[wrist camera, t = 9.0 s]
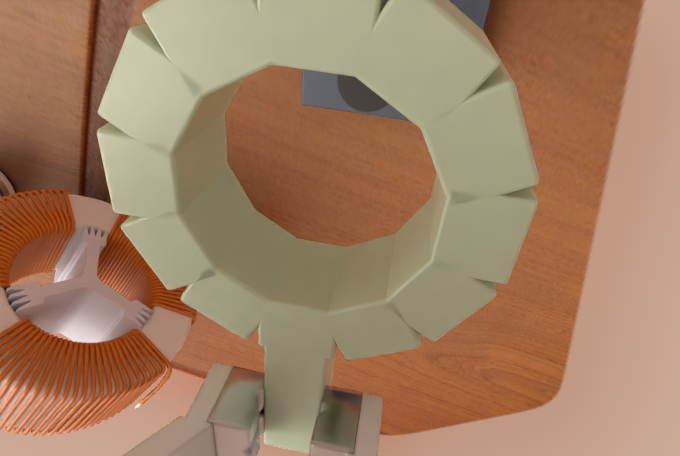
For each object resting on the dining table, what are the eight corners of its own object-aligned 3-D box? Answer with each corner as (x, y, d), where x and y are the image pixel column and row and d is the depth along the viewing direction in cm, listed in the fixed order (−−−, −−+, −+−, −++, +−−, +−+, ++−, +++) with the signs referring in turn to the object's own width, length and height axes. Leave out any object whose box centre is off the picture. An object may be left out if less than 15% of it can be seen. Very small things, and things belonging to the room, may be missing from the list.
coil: (66, 152, 32) (-166, 286, 20) (236, 278, 35) (131, 458, 23) (36, 210, 35) (-177, 355, 23) (193, 319, 39) (83, 495, 27)
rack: (503, -64, 21) (559, -69, 12) (457, 121, 26) (471, 222, 17) (315, -85, 22) (227, -104, 13) (305, 98, 27) (238, 183, 17)
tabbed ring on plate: (569, -18, 7) (621, -5, 5) (430, 402, 13) (430, 481, 11) (144, -70, 8) (50, -74, 6) (194, 352, 14) (155, 420, 12)
